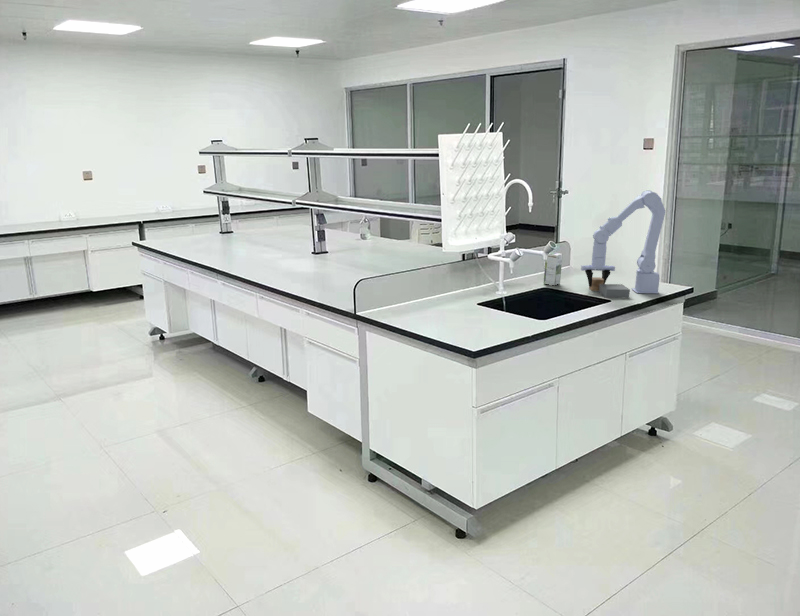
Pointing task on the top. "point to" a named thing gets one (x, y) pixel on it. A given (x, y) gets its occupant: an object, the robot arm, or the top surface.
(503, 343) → the top surface
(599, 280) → the walnut cube
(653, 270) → the robot arm
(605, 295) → the charcoal base block
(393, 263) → the top surface
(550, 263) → the syrup box
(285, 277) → the top surface
